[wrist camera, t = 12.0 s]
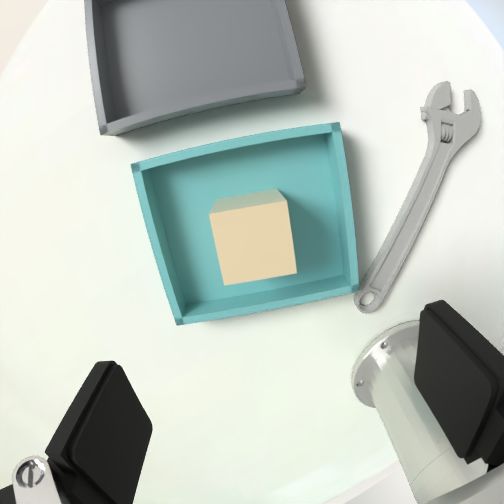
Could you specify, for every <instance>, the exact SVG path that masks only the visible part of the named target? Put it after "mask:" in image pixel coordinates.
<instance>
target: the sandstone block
mask: <svg viewBox="0 0 504 504" xmlns="http://www.w3.org/2000/svg"><path fill="white" fill-rule="evenodd" d="M209 217H210V222H211V227H212V232H213V236H214V241H215V246H216V250H217V255H218V260H219V264H220V269H221V273H222V278H223V282H224V286H225V285H231V284H237V283H243V282H249V281H255V280H261V279H267V278H273V277H278V276H284V275H290V274H295V273H297V269H296V261H295V254H294V247H293V239H292V232H291V225H290V218H289V211H288V205H287V200H286V199H285V198H284V197H283V195H282V194H281V193H280V192H279V191H278V189H273V190H267V191H261V192H255V193H249V194H243V195H238V196H232V197H227V198H221V199H216V201H215V203H214V205H213V207H212V209H211V211H210V213H209Z"/></svg>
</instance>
